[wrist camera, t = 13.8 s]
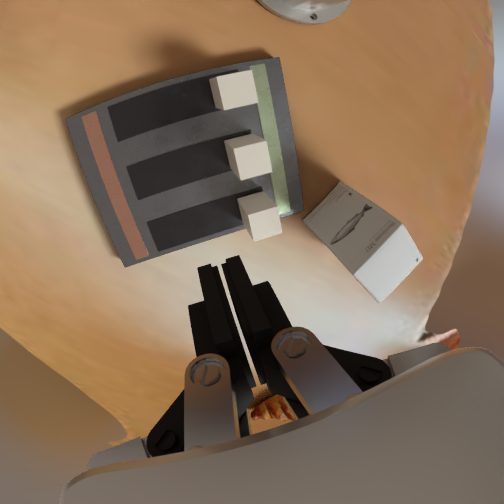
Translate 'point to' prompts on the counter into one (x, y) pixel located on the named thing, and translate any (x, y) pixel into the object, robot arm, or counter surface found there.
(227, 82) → the block
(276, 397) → the croissant
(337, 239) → the supplement box
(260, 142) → the block
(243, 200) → the block
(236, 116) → the panel
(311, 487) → the robot arm
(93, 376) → the counter surface
